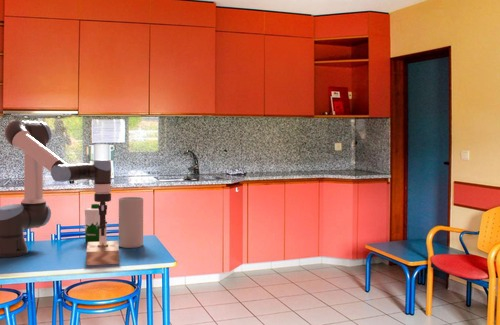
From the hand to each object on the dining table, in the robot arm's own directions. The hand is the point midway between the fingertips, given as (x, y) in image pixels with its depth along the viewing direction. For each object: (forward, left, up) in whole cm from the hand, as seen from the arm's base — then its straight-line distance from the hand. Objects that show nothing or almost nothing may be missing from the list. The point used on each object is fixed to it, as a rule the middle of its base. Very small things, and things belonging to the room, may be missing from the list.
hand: (102, 240), depth 234 cm
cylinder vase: (+14, +26, -9) cm, 31 cm away
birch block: (0, 0, -9) cm, 9 cm away
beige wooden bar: (0, 0, -9) cm, 9 cm away
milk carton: (-5, +42, -9) cm, 43 cm away
